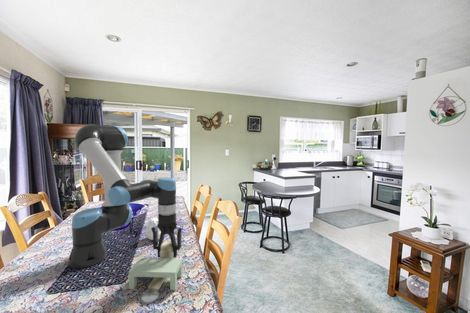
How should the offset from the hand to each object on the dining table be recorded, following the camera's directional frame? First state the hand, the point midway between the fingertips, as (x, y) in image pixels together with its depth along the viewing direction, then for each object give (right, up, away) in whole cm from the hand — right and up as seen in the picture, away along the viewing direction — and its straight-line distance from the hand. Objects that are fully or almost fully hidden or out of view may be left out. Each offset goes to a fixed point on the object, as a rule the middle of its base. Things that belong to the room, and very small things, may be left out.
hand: (167, 263), depth 98 cm
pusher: (0, -2, -7) cm, 7 cm away
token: (-1, -3, -19) cm, 19 cm away
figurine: (-17, 0, +30) cm, 34 cm away
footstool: (-1, -2, -10) cm, 10 cm away
